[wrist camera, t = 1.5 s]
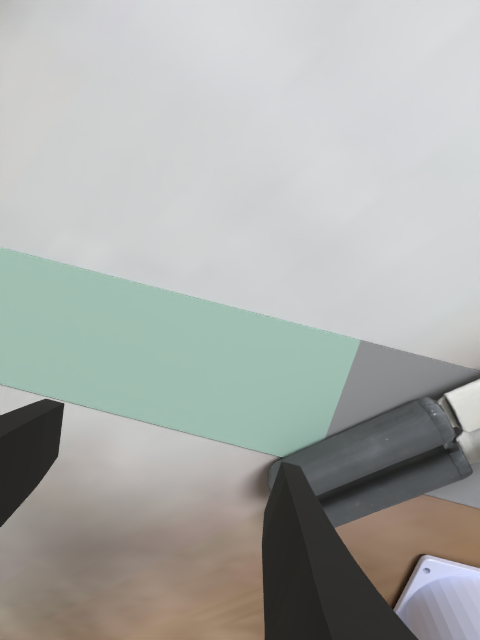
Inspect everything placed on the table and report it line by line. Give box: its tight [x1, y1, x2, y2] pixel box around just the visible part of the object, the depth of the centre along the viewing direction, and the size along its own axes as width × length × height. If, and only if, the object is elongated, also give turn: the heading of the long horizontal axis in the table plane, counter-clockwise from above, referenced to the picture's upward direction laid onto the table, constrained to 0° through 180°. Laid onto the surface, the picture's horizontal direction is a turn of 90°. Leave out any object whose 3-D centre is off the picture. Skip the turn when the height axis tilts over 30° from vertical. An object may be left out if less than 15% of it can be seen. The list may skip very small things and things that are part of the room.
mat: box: [0, 248, 480, 509], centre depth 21 cm, size 9×39×1 cm, turn 76°
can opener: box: [268, 379, 480, 528], centre depth 18 cm, size 19×5×6 cm, turn 120°
